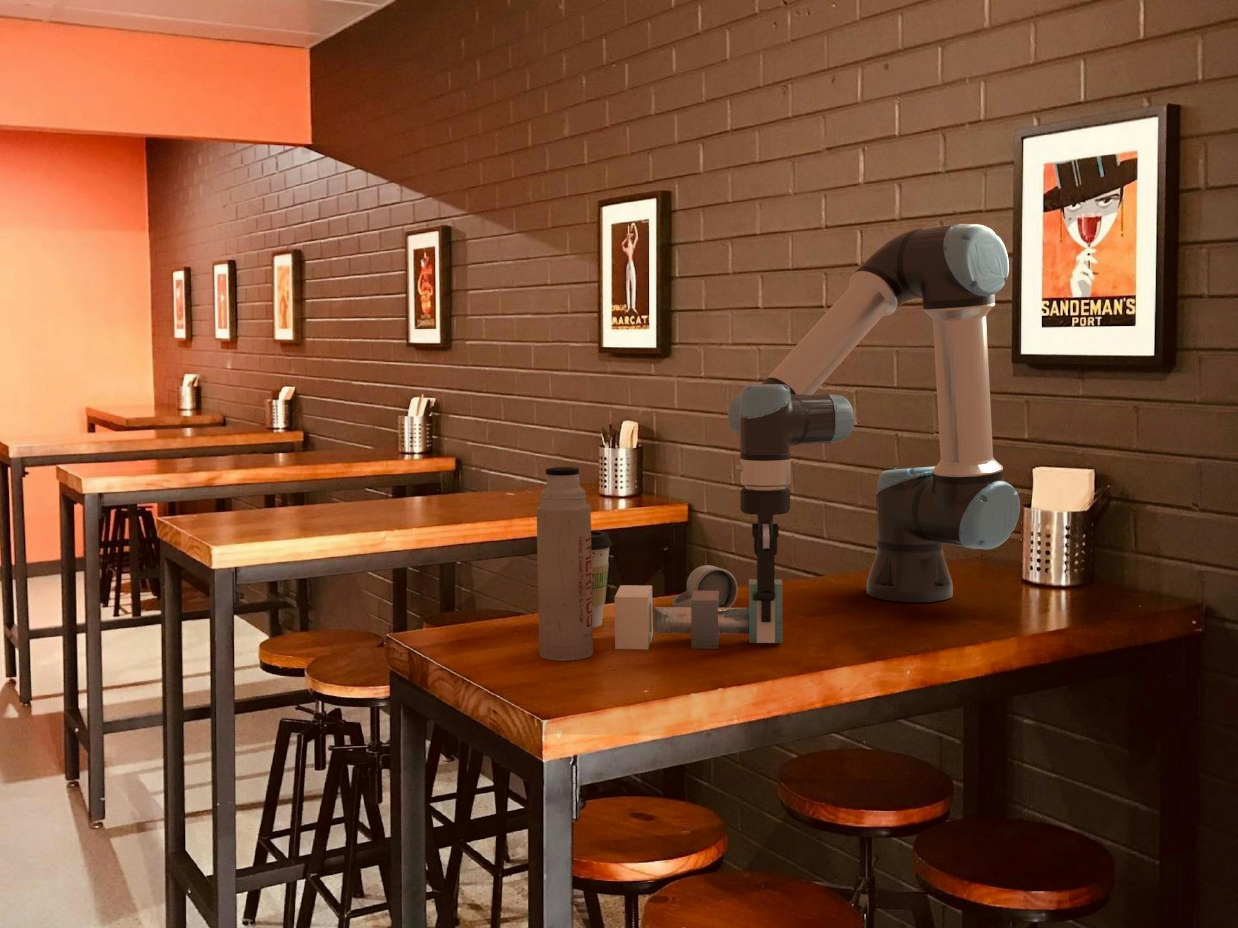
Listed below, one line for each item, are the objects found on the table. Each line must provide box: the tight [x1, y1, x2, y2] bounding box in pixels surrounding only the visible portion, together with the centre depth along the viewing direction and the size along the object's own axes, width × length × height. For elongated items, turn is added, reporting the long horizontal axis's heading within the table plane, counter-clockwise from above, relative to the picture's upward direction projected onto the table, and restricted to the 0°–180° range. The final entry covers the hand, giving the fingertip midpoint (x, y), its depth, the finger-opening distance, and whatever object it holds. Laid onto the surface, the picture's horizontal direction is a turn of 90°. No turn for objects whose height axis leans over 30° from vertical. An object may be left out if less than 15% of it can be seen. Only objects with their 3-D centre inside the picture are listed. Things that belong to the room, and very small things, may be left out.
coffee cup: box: [591, 529, 613, 629], centre depth 209 cm, size 10×10×15 cm
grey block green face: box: [653, 578, 784, 644], centre depth 195 cm, size 20×4×9 cm, turn 84°
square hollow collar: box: [690, 591, 720, 650], centre depth 195 cm, size 4×7×7 cm, turn 174°
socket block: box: [614, 584, 654, 650], centre depth 196 cm, size 5×9×8 cm, turn 174°
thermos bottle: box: [536, 466, 594, 662], centre depth 188 cm, size 8×8×28 cm
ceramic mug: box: [671, 564, 739, 608], centre depth 220 cm, size 11×8×8 cm
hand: (765, 638), depth 194 cm, fingers closed on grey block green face, 4 cm apart
